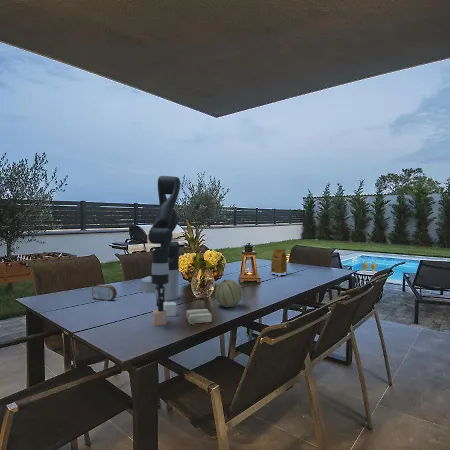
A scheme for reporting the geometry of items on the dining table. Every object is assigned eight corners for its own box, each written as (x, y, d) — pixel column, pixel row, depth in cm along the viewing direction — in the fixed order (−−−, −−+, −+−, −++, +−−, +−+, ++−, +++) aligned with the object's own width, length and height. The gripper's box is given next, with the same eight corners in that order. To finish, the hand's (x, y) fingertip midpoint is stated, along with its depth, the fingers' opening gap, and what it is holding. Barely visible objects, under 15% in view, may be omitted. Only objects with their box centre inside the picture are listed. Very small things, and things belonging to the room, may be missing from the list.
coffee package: (277, 273, 276) (278, 247, 275) (288, 275, 266) (288, 249, 265) (268, 274, 270) (269, 248, 269) (279, 277, 260) (280, 249, 259)
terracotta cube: (152, 322, 148) (152, 310, 148) (165, 321, 149) (165, 309, 149) (153, 326, 143) (153, 313, 142) (166, 325, 144) (166, 312, 144)
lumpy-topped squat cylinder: (139, 290, 208) (139, 276, 208) (156, 287, 217) (157, 274, 216) (146, 293, 200) (146, 279, 200) (165, 290, 209) (165, 277, 209)
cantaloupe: (247, 306, 175) (248, 279, 174) (229, 312, 164) (230, 283, 163) (227, 301, 184) (227, 275, 184) (208, 306, 173) (209, 278, 173)
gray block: (186, 318, 155) (186, 310, 154) (206, 317, 157) (207, 308, 157) (189, 325, 145) (189, 316, 145) (211, 323, 148) (211, 315, 147)
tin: (116, 300, 184) (117, 285, 184) (113, 301, 181) (113, 286, 181) (94, 297, 188) (94, 283, 188) (90, 299, 185) (90, 284, 185)
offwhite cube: (163, 313, 161) (163, 302, 161) (174, 312, 163) (174, 301, 162) (164, 316, 156) (164, 305, 156) (176, 315, 157) (176, 304, 157)
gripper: (170, 275, 139) (170, 312, 140) (166, 269, 153) (166, 304, 153) (152, 275, 137) (152, 313, 138) (150, 270, 151) (150, 305, 151)
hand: (159, 308), depth 146 cm, fingers open, 8 cm apart
